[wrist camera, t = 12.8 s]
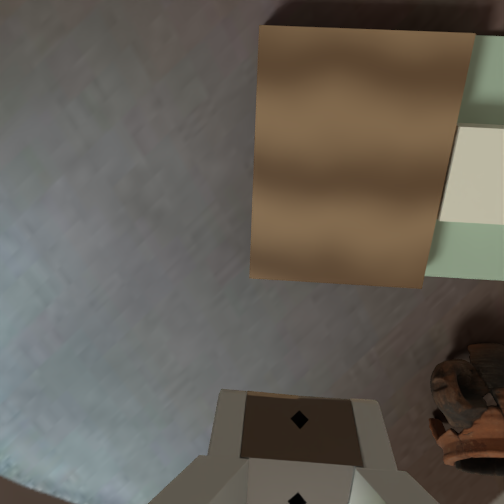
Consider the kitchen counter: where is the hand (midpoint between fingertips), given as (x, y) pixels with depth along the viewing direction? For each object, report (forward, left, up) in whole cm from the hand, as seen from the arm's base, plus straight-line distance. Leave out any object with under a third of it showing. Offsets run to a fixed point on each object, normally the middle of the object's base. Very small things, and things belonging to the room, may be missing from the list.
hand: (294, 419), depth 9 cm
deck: (0, +4, -24) cm, 24 cm away
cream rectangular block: (0, +15, -24) cm, 28 cm away
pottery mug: (+18, +16, -24) cm, 34 cm away
